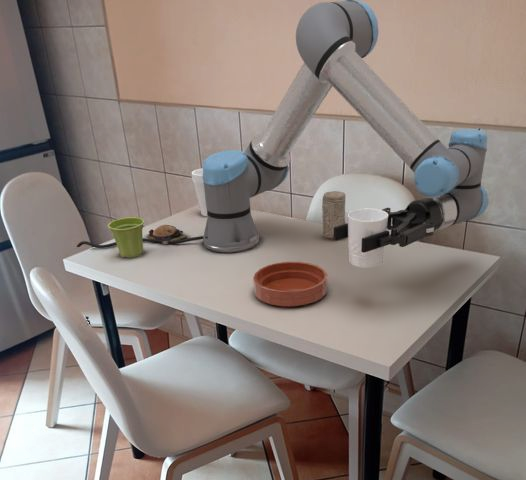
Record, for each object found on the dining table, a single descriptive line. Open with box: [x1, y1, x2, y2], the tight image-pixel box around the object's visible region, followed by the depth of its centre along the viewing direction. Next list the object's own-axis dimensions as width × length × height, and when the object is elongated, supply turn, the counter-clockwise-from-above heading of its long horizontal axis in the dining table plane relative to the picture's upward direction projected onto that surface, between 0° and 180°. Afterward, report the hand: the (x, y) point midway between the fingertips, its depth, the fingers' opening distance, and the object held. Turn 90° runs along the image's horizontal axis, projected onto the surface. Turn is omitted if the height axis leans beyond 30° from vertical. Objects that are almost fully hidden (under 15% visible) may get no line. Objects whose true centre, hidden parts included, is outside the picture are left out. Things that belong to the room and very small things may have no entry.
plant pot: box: [107, 216, 145, 259], centre depth 152 cm, size 9×9×9 cm
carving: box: [321, 190, 347, 239], centre depth 154 cm, size 6×8×12 cm
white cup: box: [347, 207, 388, 269], centre depth 115 cm, size 8×8×10 cm
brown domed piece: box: [146, 224, 188, 246], centre depth 163 cm, size 11×8×4 cm
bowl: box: [252, 261, 328, 307], centre depth 128 cm, size 16×16×4 cm
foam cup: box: [191, 167, 207, 217], centre depth 178 cm, size 10×9×13 cm
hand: (348, 239), depth 113 cm, fingers closed on white cup, 8 cm apart
